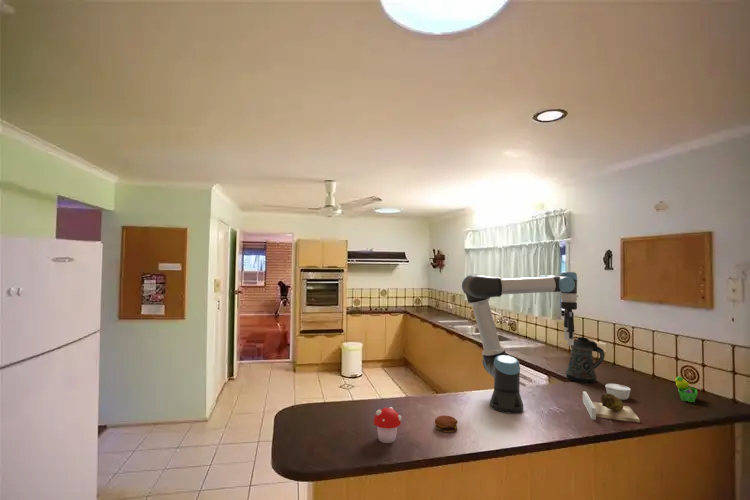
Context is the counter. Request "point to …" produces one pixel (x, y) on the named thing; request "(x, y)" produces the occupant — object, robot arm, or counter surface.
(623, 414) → the cutting board
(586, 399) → the divider wall
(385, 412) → the mushroom
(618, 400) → the potato
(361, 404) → the counter surface
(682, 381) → the fruit basket
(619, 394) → the ramekin
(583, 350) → the beer stein
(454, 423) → the burger
